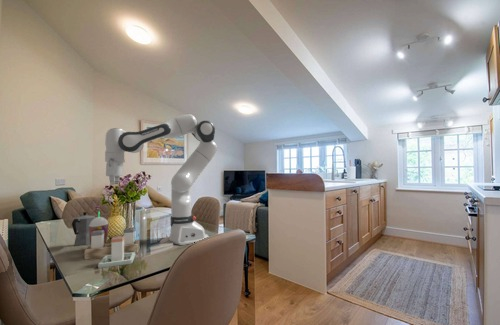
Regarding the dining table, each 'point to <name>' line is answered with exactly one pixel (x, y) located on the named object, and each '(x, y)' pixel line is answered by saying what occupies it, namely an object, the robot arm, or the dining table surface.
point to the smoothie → (99, 226)
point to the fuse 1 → (97, 239)
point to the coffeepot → (82, 229)
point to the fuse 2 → (129, 236)
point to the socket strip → (109, 250)
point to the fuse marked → (117, 248)
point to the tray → (116, 263)
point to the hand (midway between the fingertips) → (114, 184)
